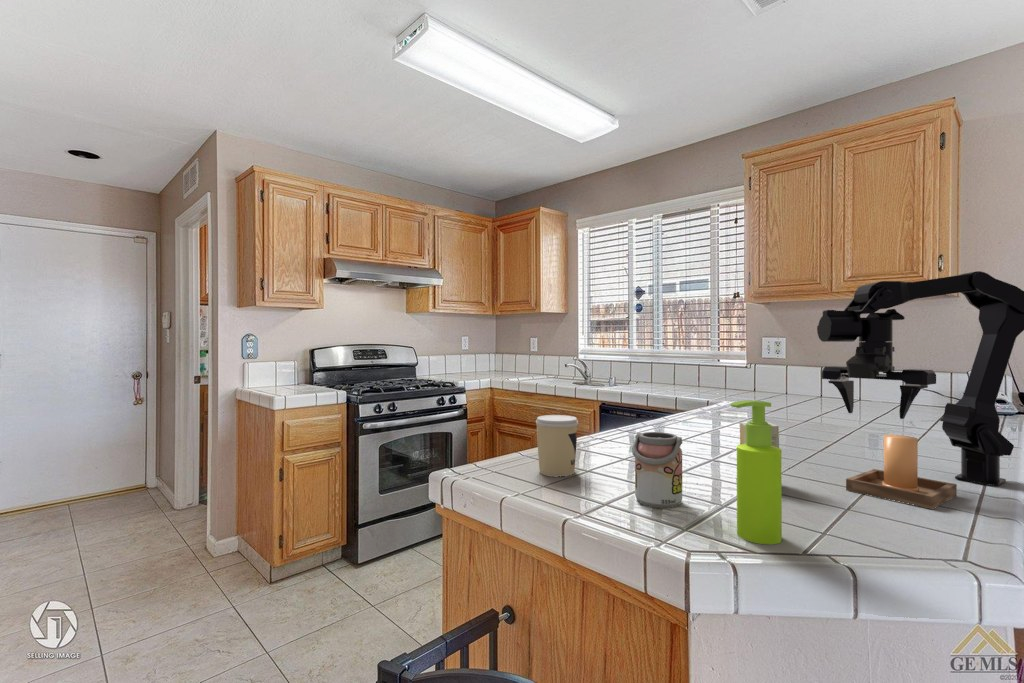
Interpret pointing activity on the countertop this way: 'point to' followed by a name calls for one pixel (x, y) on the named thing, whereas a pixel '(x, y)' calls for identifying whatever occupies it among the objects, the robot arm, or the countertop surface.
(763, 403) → the soap dispenser
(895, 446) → the peach dome-topped cylinder
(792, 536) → the countertop surface
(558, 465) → the coffee cup
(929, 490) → the walnut tray
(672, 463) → the printed pail with handle
